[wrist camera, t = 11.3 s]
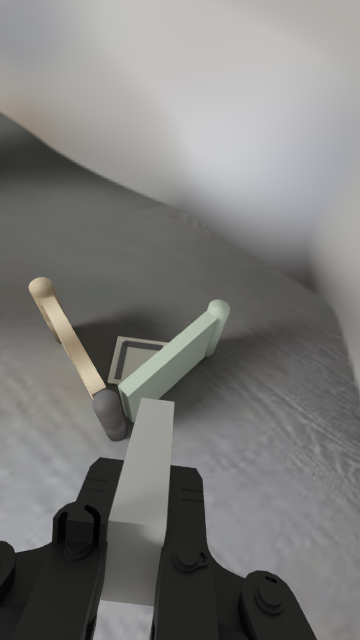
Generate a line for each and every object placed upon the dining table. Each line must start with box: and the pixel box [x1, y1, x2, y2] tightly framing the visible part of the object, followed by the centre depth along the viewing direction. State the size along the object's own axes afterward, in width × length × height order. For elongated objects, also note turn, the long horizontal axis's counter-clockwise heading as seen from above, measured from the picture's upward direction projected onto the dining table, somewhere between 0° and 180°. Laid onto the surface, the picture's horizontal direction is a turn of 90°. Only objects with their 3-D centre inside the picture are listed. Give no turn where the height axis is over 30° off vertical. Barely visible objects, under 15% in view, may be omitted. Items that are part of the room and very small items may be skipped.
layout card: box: [107, 336, 168, 385], centre depth 36 cm, size 6×6×1 cm
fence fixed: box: [29, 277, 127, 441], centre depth 31 cm, size 14×2×10 cm, turn 34°
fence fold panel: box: [118, 300, 230, 423], centre depth 32 cm, size 12×2×8 cm, turn 135°
